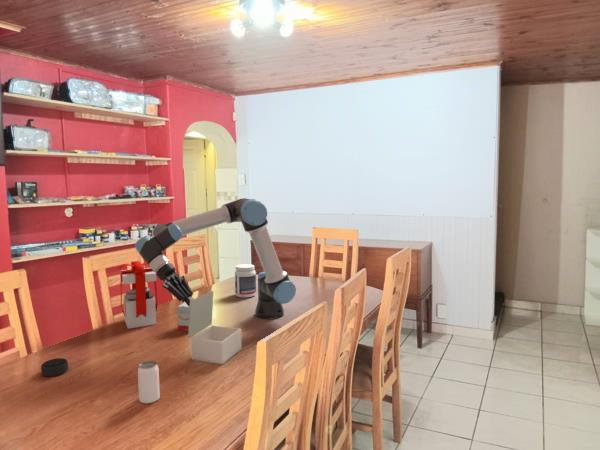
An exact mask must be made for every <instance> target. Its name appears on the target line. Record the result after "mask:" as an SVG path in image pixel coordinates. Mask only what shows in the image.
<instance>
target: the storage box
mask: <svg viewBox="0 0 600 450" xmlns="http://www.w3.org/2000/svg"><path fill="white" fill-rule="evenodd" d="M190 343H191V344H190V345H191V346H190V351H191V360H192V361H197V362H203V363H208V364H209V363H210V364H216V365H225V364H226V363H227V362H229V360H231V359H232V358H233V357H234V356H235V355H237V354H238V353H239V352H240V351H241V349H242V329H241V328H238V327H237V328H235V327H229V326H222V325H221V326H220V325H214V324H211V325H210V326H208V327H207V328H205V329H203V330H202V331H200V332H198V333H197V334H195V335H193V336H192V337H190ZM231 357H232V358H231ZM225 362H226V363H225Z"/></svg>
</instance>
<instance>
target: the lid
mask: <svg viewBox="0 0 600 450" xmlns="http://www.w3.org/2000/svg"><path fill="white" fill-rule="evenodd" d="M193 299H194V300H192V301H190V308H189V330H188V331H187V332H188V333H187V334H188V335H187V337H188V338H190V339H191V338H192V337H194V336H195V335H197V334H199V333H200V332H202V331H204V330H205V329H207V328H208V327H210V326H212V325H213V322H212V321H213V307H214V306H213V305H214V291H213V290H211V291H209V292H207V293H205V294H202V295H200V296H198V297H196V298H193Z"/></svg>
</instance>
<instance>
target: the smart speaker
mask: <svg viewBox="0 0 600 450" xmlns="http://www.w3.org/2000/svg"><path fill="white" fill-rule="evenodd" d="M40 370H41V371H40V372H41V375H43V376H44V377H56V376H60V375H63V374H64V373H66V372H67V371H68V370H69V361H68V360H67V359H66V358H61V357H59V358H58V357H57V358H56V357H55V358H52V359H48V360H46V361H44V362H42V364H41V366H40Z"/></svg>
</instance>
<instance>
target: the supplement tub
mask: <svg viewBox="0 0 600 450" xmlns="http://www.w3.org/2000/svg"><path fill="white" fill-rule="evenodd" d="M234 292H235V293H234V294H235V296H236V297H238V298H247V299H248V298H251V297H255V296H256V294H257V271H256V270H255V265H254V264H249V263H242V264H241V263H240V264H237V265H235V271H234Z"/></svg>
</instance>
